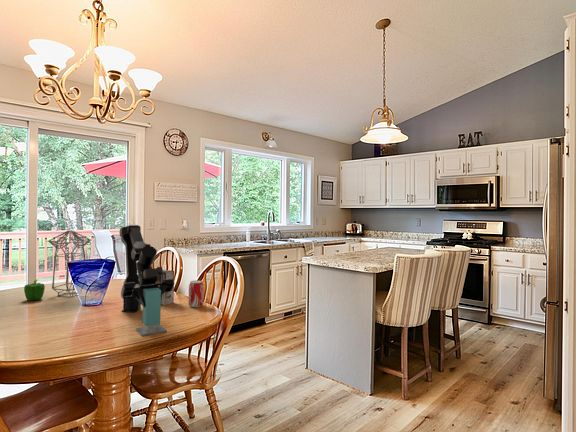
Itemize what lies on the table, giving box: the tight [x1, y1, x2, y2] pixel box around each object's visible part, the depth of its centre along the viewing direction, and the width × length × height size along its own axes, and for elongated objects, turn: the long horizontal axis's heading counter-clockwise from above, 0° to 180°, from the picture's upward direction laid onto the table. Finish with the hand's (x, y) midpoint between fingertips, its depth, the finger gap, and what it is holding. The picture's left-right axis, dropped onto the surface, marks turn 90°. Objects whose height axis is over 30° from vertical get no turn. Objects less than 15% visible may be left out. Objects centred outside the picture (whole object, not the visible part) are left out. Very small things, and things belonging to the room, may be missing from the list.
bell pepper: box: [23, 278, 45, 302], centre depth 178 cm, size 8×8×10 cm
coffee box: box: [156, 269, 175, 306], centre depth 177 cm, size 9×6×16 cm
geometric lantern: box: [46, 229, 92, 298], centre depth 188 cm, size 16×16×35 cm
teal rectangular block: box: [142, 288, 162, 327], centre depth 135 cm, size 5×5×13 cm
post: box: [147, 325, 156, 331], centre depth 135 cm, size 3×3×4 cm
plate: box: [135, 323, 168, 337], centre depth 135 cm, size 9×9×1 cm
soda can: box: [188, 280, 205, 308], centre depth 172 cm, size 7×7×12 cm
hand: (152, 305), depth 134 cm, fingers closed on teal rectangular block, 5 cm apart
